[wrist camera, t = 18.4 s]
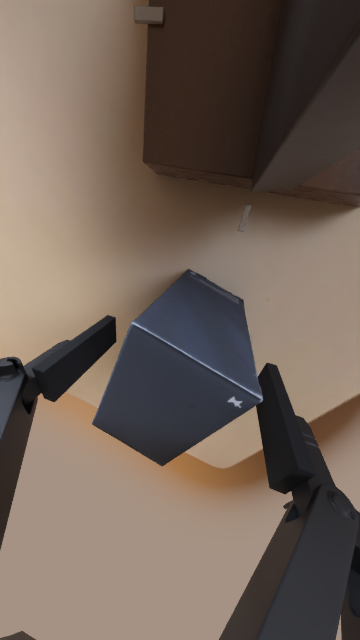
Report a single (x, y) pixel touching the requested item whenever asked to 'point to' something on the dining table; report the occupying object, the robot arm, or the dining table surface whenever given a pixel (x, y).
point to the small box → (181, 371)
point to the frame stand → (219, 96)
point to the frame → (310, 94)
